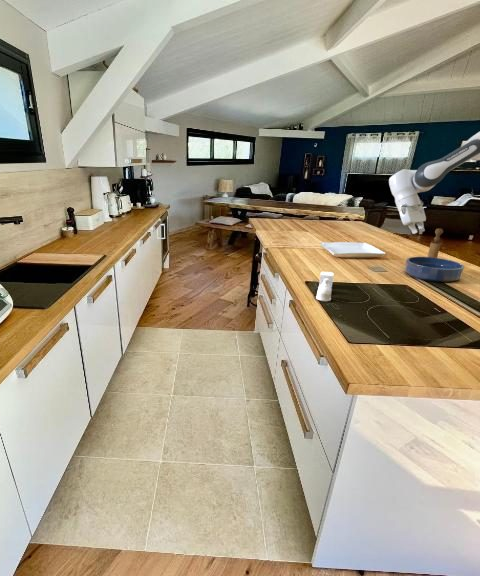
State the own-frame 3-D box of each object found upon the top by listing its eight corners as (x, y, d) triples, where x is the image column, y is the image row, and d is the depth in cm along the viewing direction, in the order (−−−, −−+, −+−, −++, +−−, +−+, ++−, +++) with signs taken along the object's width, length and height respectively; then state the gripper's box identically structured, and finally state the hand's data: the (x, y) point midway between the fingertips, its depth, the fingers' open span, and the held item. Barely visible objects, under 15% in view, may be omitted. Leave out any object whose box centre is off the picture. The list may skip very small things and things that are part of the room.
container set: (319, 283, 134) (320, 271, 132) (332, 284, 132) (334, 272, 130) (315, 300, 117) (317, 286, 115) (330, 302, 115) (332, 288, 113)
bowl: (450, 270, 147) (453, 258, 145) (468, 285, 129) (472, 271, 127) (399, 267, 154) (402, 255, 152) (410, 280, 136) (413, 266, 134)
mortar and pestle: (420, 262, 161) (428, 227, 154) (434, 262, 160) (443, 227, 153) (426, 266, 155) (435, 229, 148) (441, 266, 153) (451, 230, 147)
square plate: (364, 248, 191) (365, 241, 190) (385, 260, 166) (387, 252, 164) (318, 247, 194) (319, 241, 192) (332, 259, 168) (333, 252, 167)
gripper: (408, 201, 136) (419, 231, 135) (423, 201, 148) (433, 228, 147) (392, 208, 141) (403, 236, 140) (408, 207, 153) (418, 233, 152)
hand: (418, 232), depth 143 cm, fingers open, 8 cm apart
